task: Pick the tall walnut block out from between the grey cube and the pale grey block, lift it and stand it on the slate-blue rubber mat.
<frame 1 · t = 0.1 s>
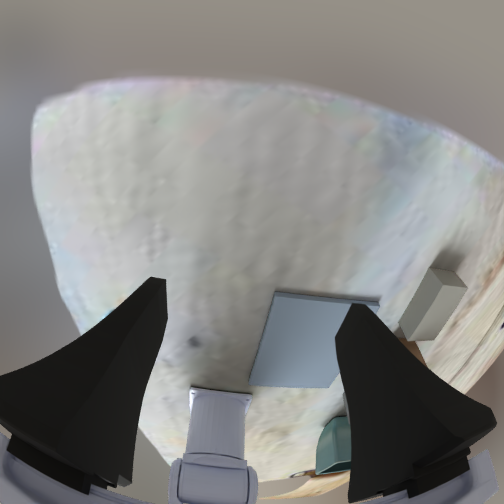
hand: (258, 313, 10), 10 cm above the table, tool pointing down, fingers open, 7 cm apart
pale grey block: (425, 296, 23), on the table
flower pot: (341, 420, 38), on the table
slate mat: (307, 348, 26), on the table
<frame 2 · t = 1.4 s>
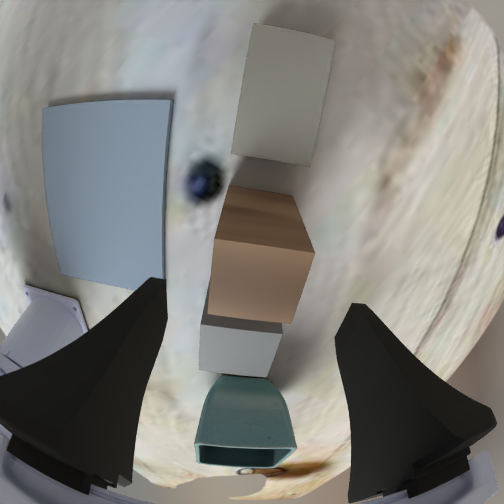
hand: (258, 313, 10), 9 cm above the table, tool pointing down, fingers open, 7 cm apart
pale grey block: (278, 95, 14), on the table
grey cube: (239, 305, 21), on the table
flower pot: (243, 385, 28), on the table
tall walnut block: (255, 219, 18), on the table
slate mat: (100, 200, 17), on the table
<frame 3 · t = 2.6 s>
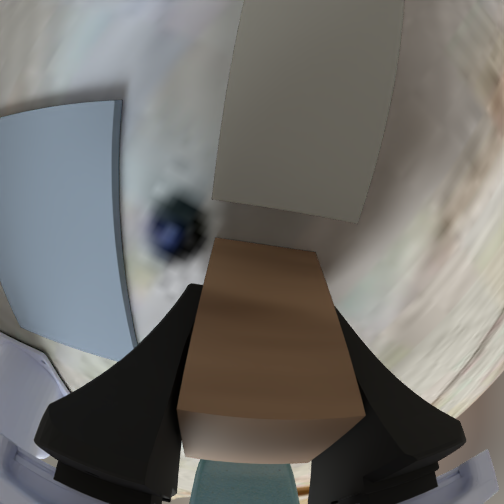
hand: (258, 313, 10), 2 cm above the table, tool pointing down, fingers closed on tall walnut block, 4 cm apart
pale grey block: (297, 86, 8), on the table
flower pot: (241, 439, 22), on the table
tall walnut block: (257, 285, 12), on the table, touching gripper
slate mat: (43, 249, 11), on the table
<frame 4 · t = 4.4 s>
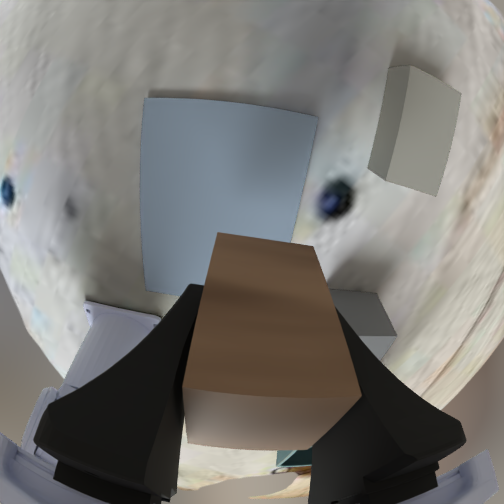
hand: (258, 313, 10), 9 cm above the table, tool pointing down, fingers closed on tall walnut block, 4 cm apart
pale grey block: (403, 126, 14), on the table
grey cube: (340, 312, 22), on the table
flower pot: (316, 387, 29), on the table
tall walnut block: (257, 278, 12), point 6 cm above the table, touching gripper
slate mat: (216, 211, 17), on the table
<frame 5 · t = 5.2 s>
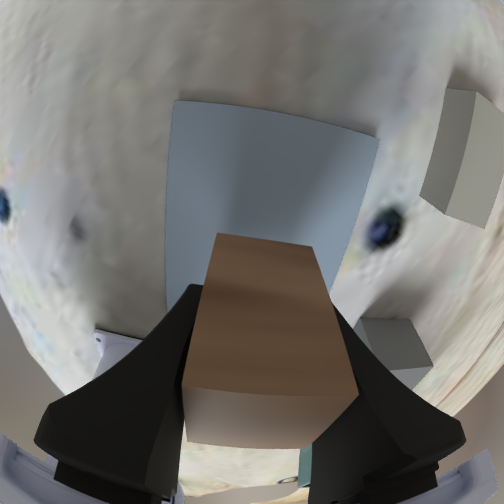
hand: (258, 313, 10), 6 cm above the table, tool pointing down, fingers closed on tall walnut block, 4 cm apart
pale grey block: (454, 151, 12), on the table
grey cube: (372, 340, 20), on the table
flower pot: (337, 408, 26), on the table
tall walnut block: (257, 278, 12), point 3 cm above the table, touching gripper
slate mat: (256, 240, 15), on the table
when the fingers open (3 cm above the table, at t = 6.1 s): tall walnut block stays where it is, resting on slate mat.
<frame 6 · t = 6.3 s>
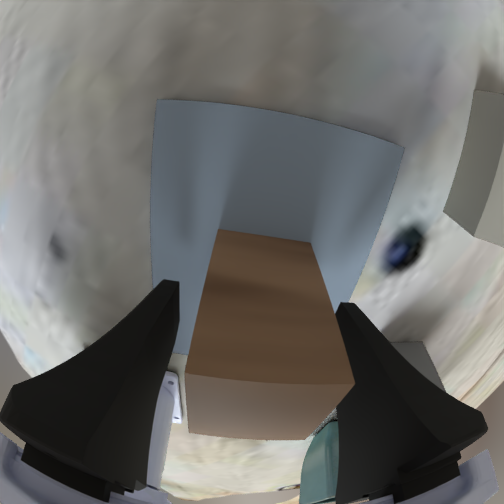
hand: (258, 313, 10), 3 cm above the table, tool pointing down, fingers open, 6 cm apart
pale grey block: (480, 161, 10), on the table
grey cube: (382, 362, 18), on the table
flower pot: (341, 425, 24), on the table
tall walnut block: (257, 274, 13), point 1 cm above the table, touching slate mat
slate mat: (257, 264, 13), on the table
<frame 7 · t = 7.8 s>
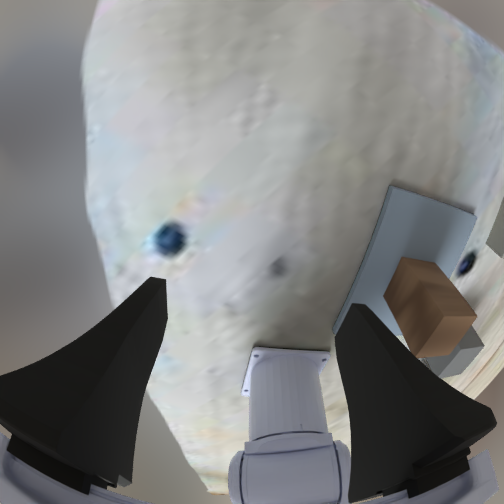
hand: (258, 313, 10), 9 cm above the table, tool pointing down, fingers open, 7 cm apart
grey cube: (444, 332, 26), on the table
tall walnut block: (409, 279, 20), point 1 cm above the table, touching slate mat
slate mat: (407, 274, 21), on the table
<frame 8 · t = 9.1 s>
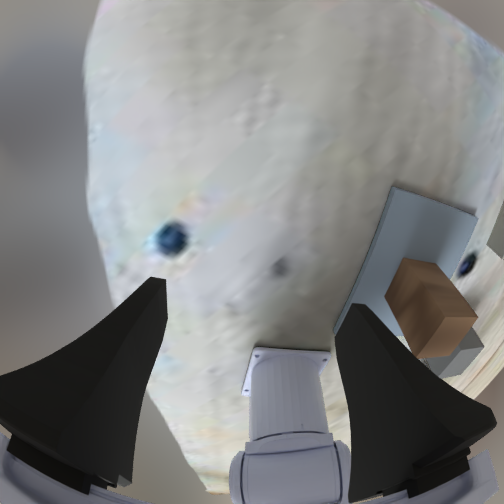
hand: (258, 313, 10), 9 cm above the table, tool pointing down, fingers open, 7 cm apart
grey cube: (444, 333, 26), on the table
tall walnut block: (410, 280, 20), point 1 cm above the table, touching slate mat
slate mat: (408, 275, 21), on the table
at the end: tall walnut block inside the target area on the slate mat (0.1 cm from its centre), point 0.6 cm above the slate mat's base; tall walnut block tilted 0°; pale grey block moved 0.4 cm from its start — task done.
